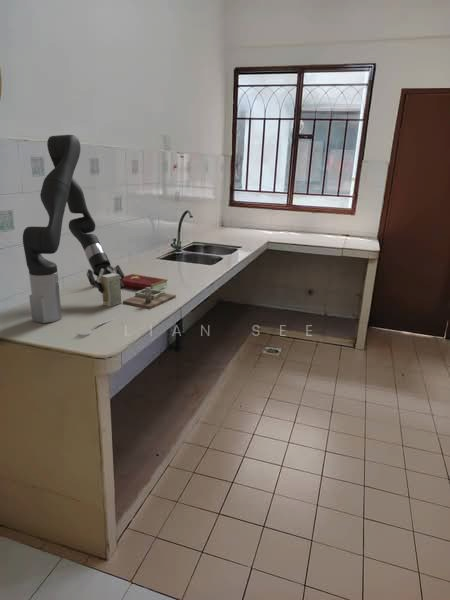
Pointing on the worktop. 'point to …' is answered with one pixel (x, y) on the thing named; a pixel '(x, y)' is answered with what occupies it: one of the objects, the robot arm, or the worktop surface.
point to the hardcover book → (143, 282)
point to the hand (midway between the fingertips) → (112, 290)
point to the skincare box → (111, 289)
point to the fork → (95, 327)
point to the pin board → (148, 305)
